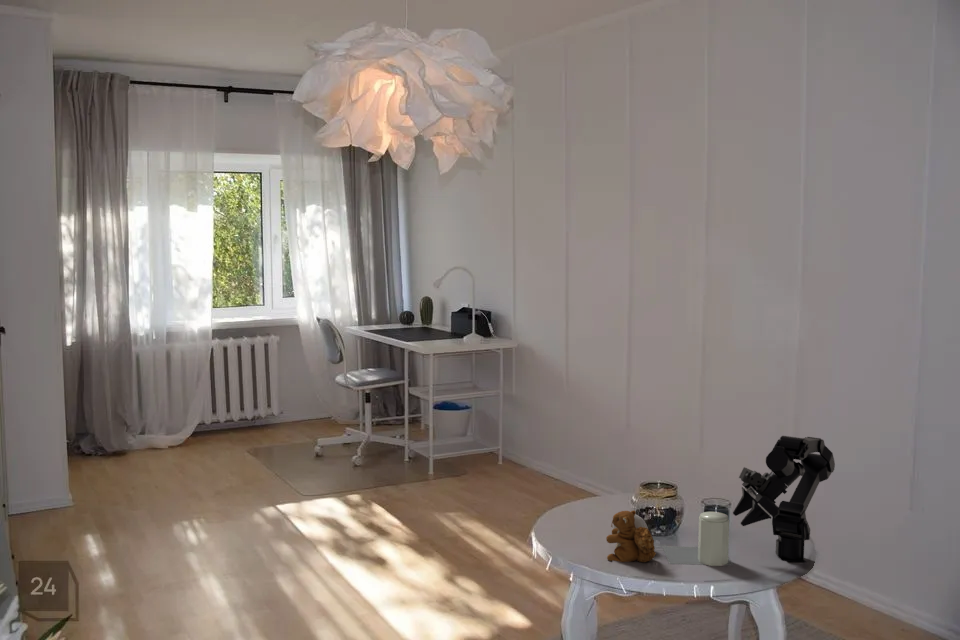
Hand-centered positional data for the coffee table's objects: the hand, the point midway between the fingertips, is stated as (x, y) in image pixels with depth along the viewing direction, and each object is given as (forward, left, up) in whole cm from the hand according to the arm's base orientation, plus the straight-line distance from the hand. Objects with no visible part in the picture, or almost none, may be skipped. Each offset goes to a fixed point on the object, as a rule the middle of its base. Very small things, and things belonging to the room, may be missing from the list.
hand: (737, 519), depth 242 cm
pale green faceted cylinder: (+6, +1, -11) cm, 13 cm away
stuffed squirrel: (+28, 0, -12) cm, 30 cm away
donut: (+28, -9, -12) cm, 31 cm away
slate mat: (+10, -3, -12) cm, 16 cm away
